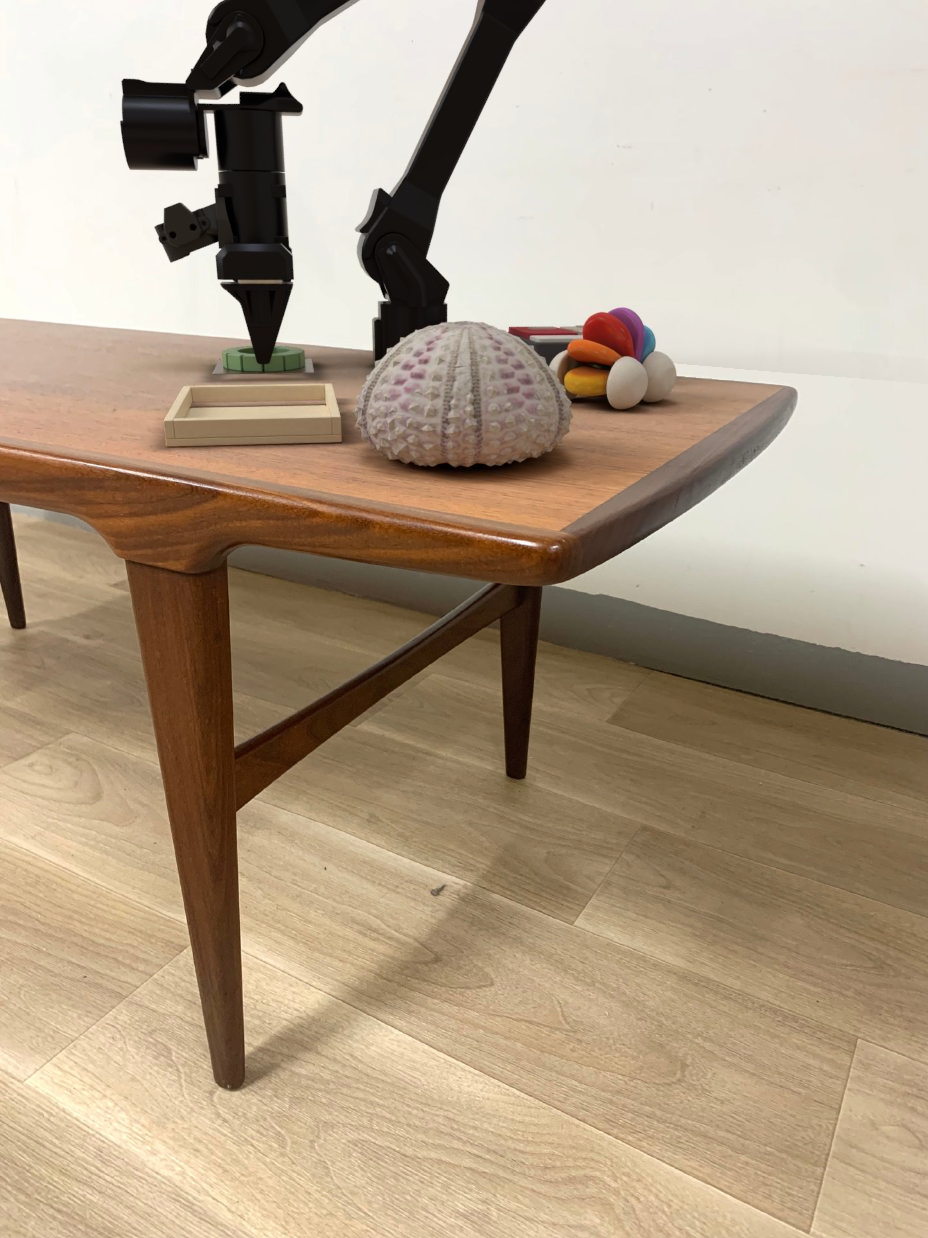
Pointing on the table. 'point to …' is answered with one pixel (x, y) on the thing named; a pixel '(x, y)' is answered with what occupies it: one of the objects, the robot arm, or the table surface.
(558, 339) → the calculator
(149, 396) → the table surface
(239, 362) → the ring
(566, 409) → the sea urchin shell
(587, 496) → the table surface
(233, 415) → the tray
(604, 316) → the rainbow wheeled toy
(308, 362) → the peg stand
